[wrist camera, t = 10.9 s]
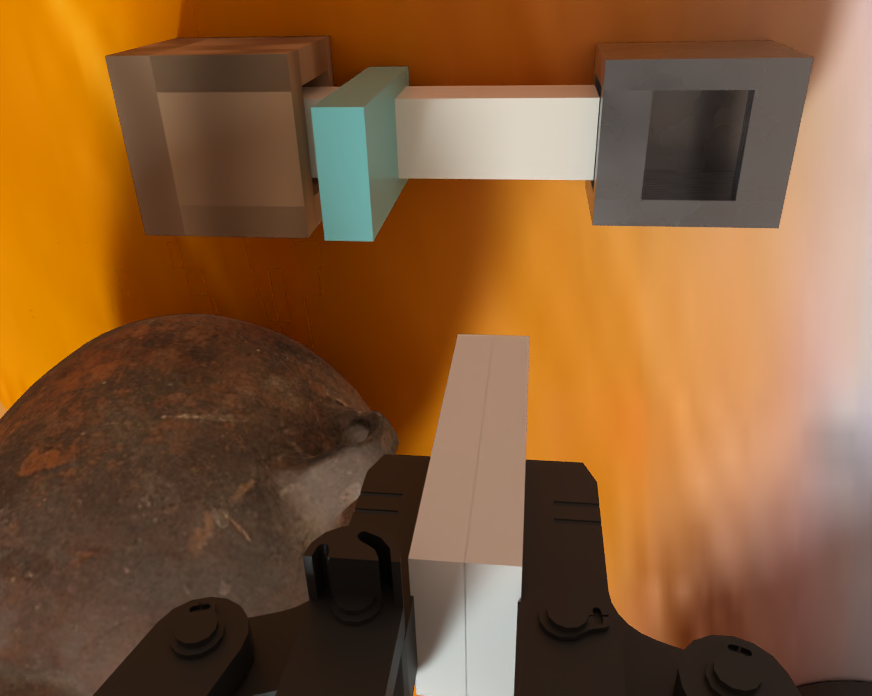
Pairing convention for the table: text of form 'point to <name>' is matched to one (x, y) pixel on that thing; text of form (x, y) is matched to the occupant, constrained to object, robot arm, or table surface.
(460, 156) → the bolt
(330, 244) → the table surface
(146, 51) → the socket
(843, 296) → the table surface
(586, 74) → the table surface
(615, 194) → the sleeve
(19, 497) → the jug
